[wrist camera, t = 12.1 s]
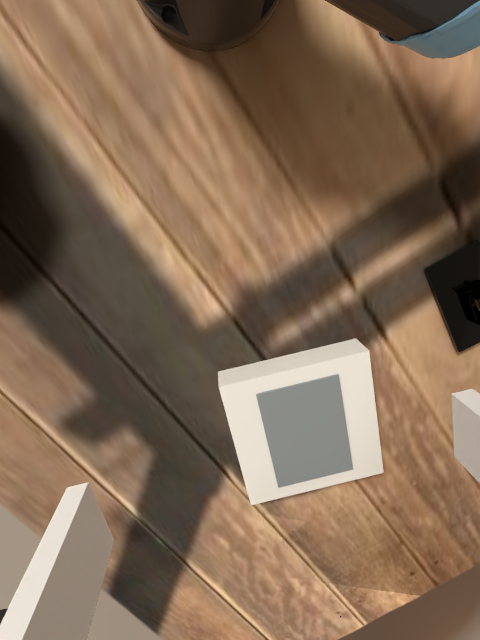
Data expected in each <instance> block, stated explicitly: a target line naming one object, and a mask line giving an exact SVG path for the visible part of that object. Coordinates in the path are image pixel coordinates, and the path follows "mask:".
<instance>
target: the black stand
mask: <svg viewBox="0 0 480 640" xmlns="http://www.w3.org/2000/svg"><path fill="white" fill-rule="evenodd" d="M424 270H425V273H426V275H427V278H428V280H429V283H430V285H431V288H432V290H433V293H434V295H435V298H436V300H437V303H438V305H439V308H440V310H441V313H442V315H443V318H444V320H445V323H446V325H447V328H448V330H449V332H450V335H451V337H452V340H453V342H454V345H455V347H456V350H457V351H458V352H461V351H463V350H465V349H467V348H469V347H471V346H473V345H475V344H477V343H479V342H480V241H479V240H476V241H474V242H472V243H470V244H469V245H467V246H465V247H463V248H461V249H459V250H457V251H456V252H454V253H452V254H450V255H448V256H446V257H444V258H443V259H441V260H439V261H437V262H435V263H433V264H432V265H430V266H428V267H426V268H425V269H424Z"/></svg>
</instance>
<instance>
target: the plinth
mask: <svg viewBox="0 0 480 640" xmlns="http://www.w3.org/2000/svg"><path fill="white" fill-rule="evenodd" d="M218 383H219V390H220V393H221V397H222V401H223V404H224V408H225V412H226V415H227V419H228V423H229V426H230V430H231V434H232V437H233V441H234V444H235V448H236V452H237V455H238V459H239V463H240V466H241V470H242V474H243V477H244V481H245V485H246V488H247V492H248V496H249V499H250V503H251V505H254V504H258V503H262V502H266V501H271V500H275V499H279V498H283V497H287V496H291V495H295V494H299V493H303V492H307V491H311V490H315V489H320V488H324V487H328V486H332V485H336V484H340V483H344V482H348V481H352V480H356V479H360V478H364V477H369V476H373V475H377V474H381V473H384V471H383V463H382V455H381V446H380V438H379V429H378V421H377V413H376V404H375V396H374V388H373V379H372V371H371V362H370V354H369V350H368V349H367V348H366V347H365V346H364V345H362V344H361V343H360V342H359V341H358V340H357V339H352V340H348V341H344V342H340V343H335V344H331V345H327V346H323V347H319V348H315V349H311V350H306V351H302V352H298V353H294V354H290V355H286V356H282V357H277V358H273V359H269V360H265V361H261V362H257V363H253V364H248V365H244V366H240V367H236V368H232V369H228V370H224V371H219V372H218Z"/></svg>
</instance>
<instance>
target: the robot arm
mask: <svg viewBox="0 0 480 640" xmlns="http://www.w3.org/2000/svg"><path fill="white" fill-rule="evenodd" d="M137 1H138V3H139V5H140V6H141V8H142V10H143V11H144V13H145V14H146V15H147V17H148V18H149V19H150V20H151V22H152V23H153V24H154V25H155V26H156V27H157V28H158V29H159V30H160V31H161V32H163V33H164V34H165V35H166V36H168V37H169V38H171V39H172V40H174V41H176V42H177V43H179V44H181V45H184V46H186V47H189V48H192V49H196V50H201V51H222V50H227V49H230V48H233V47H236V46H238V45H240V44H242V43H244V42H246V41H248V40H249V39H250V38H252V37H253V36H254V35H255V34H257V33H258V32H259V31H260V30H261V29H262V28H263V27H264V25H265V24H266V23H267V22H268V20H269V19H270V18H271V16H272V14H273V13H274V11H275V9H276V7H277V5H278V3H279V1H280V0H137ZM325 1H327V2H329V3H330V4H332V5H334V6H336V7H337V8H339V9H341V10H342V11H344V12H346V13H348V14H349V15H351V16H353V17H355V18H356V19H358V20H360V21H361V22H363V23H365V24H367V25H368V26H370V27H372V28H374V29H375V30H377V31H379V34H380V36H381V37H382V38H383V39H384V40H385V41H387V42H389V43H391V44H397V45H403V46H405V47H407V48H409V49H411V50H413V51H415V52H417V53H419V54H421V55H423V56H425V57H428V58H443V59H444V58H451V57H455V56H458V55H461V54H464V53H466V52H468V51H470V50H472V49H474V48H476V47H478V46H480V0H325ZM452 416H453V440H454V457H455V458H456V459H457V460H458V461H459V462H460V463H461V464H462V465H463V466H464V467H465V468H466V469H467V470H468V472H469V473H470V474H471V475H472V476H473V477H474V478H475V479H476V480H477V481H478V482H479V483H480V394H479V393H478V392H477V391H475V390H474V389H469V390H465V391H461V392H457V393H453V394H452ZM113 543H114V538H113V536H112V534H111V532H110V529H109V527H108V525H107V523H106V521H105V518H104V516H103V514H102V512H101V509H100V507H99V505H98V503H97V501H96V498H95V496H94V494H93V492H92V489H91V487H90V485H89V483H84V484H80V485H76V486H71V487H67V489H66V491H65V493H64V495H63V497H62V499H61V501H60V503H59V505H58V507H57V509H56V511H55V513H54V515H53V517H52V519H51V521H50V523H49V525H48V528H47V530H46V532H45V534H44V536H43V538H42V540H41V542H40V544H39V546H38V548H37V550H36V552H35V554H34V556H33V558H32V560H31V562H30V564H29V566H28V569H27V571H26V573H25V575H24V577H23V579H22V581H21V583H20V585H19V587H18V589H17V591H16V593H15V595H14V597H13V599H12V601H11V603H10V606H9V607H8V608H7V609H3V610H0V640H87V638H88V634H89V630H90V626H91V623H92V619H93V616H94V612H95V608H96V605H97V601H98V597H99V594H100V590H101V587H102V583H103V579H104V576H105V572H106V568H107V565H108V561H109V557H110V554H111V550H112V546H113Z"/></svg>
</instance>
